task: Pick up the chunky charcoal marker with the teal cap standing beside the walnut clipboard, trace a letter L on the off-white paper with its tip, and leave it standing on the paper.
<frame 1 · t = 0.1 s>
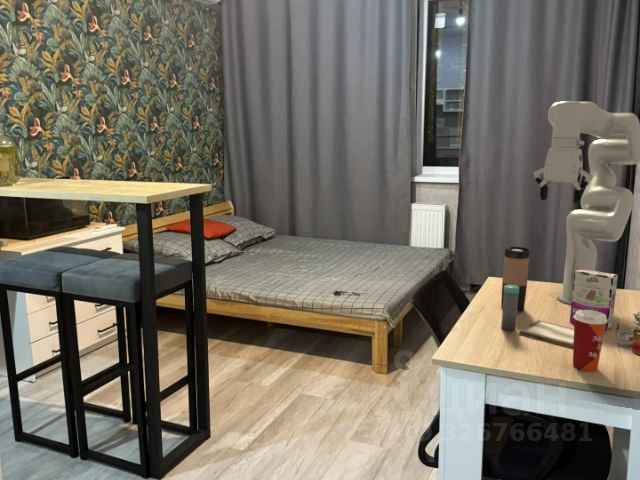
hand: (559, 201, 175), 37 cm above the table, tool pointing down, fingers open, 9 cm apart
candy bar box: (590, 325, 176), on the table
travel mug: (512, 308, 191), on the table
clipboard: (555, 335, 167), on the table
paper cup: (584, 367, 145), on the table
marker: (508, 329, 171), on the table
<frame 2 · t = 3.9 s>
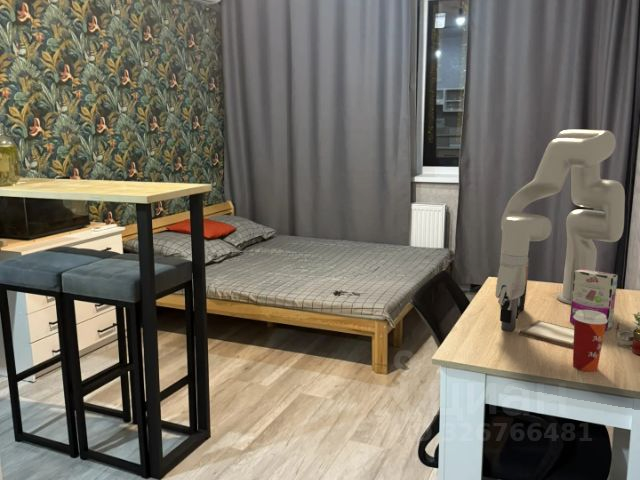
hand: (509, 319, 170), 3 cm above the table, tool pointing down, fingers closed on marker, 3 cm apart
marker: (508, 329, 171), on the table, touching gripper
everything else where it was.
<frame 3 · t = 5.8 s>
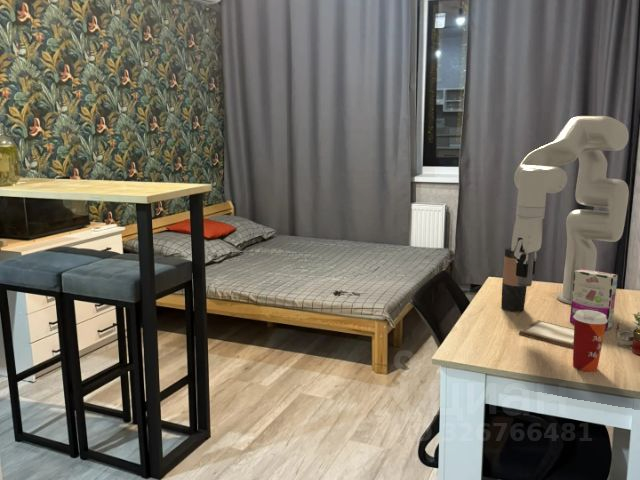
hand: (525, 274, 167), 17 cm above the table, tool pointing down, fingers closed on marker, 3 cm apart
marker: (524, 284, 167), point 14 cm above the table, touching gripper
everything else where it was.
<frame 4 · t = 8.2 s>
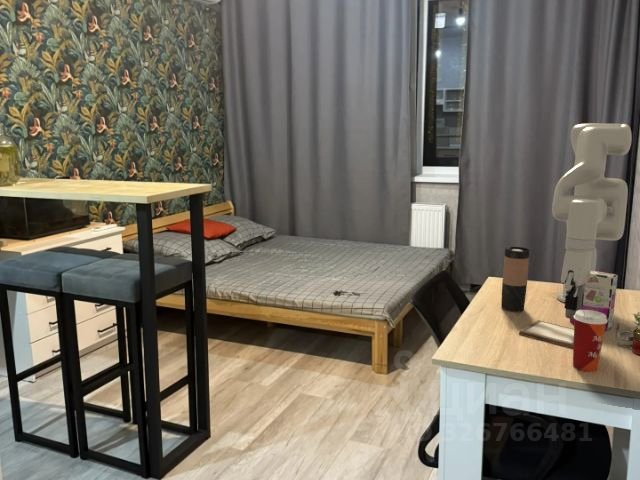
hand: (573, 307, 164), 9 cm above the table, tool pointing down, fingers closed on marker, 3 cm apart
marker: (572, 317, 164), point 6 cm above the table, touching gripper
everything else where it was.
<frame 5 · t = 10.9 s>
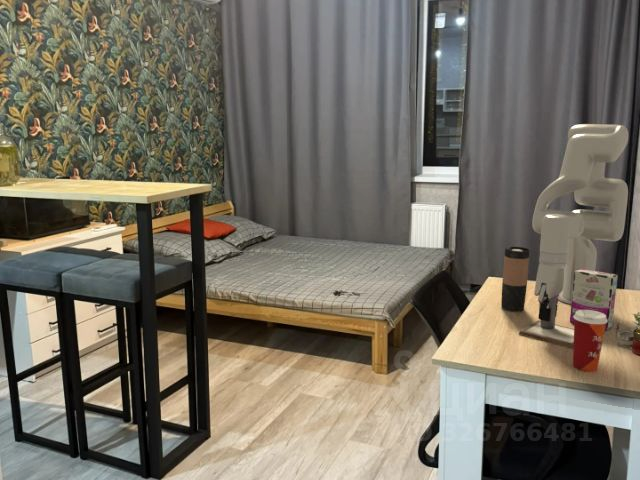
hand: (547, 317, 170), 4 cm above the table, tool pointing down, fingers closed on marker, 3 cm apart
marker: (547, 326, 170), point 1 cm above the table, touching gripper
everything else where it was.
when the fingers open (4 cm above the table, at t = 12.6 s): marker stays where it is, resting on clipboard.
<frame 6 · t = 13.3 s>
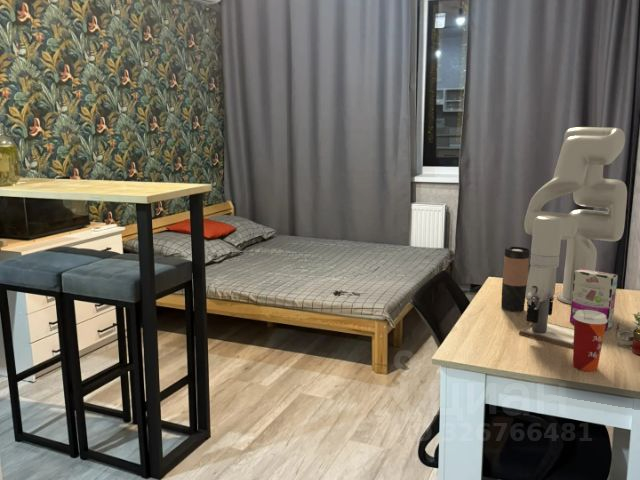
hand: (539, 317, 166), 5 cm above the table, tool pointing down, fingers open, 9 cm apart
marker: (539, 331, 167), point 1 cm above the table, touching clipboard
everything else where it was.
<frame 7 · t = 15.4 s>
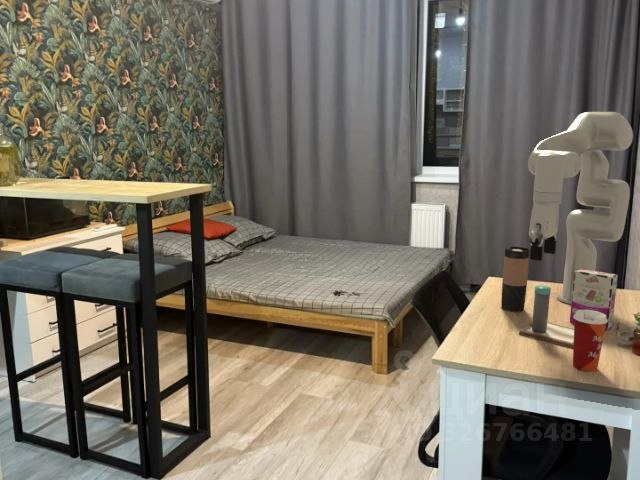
hand: (542, 256, 167), 22 cm above the table, tool pointing down, fingers open, 9 cm apart
nothing on the table moved.
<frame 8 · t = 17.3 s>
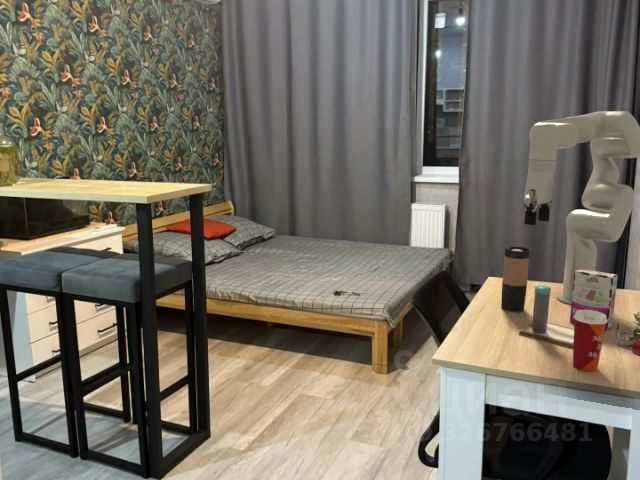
hand: (536, 222, 175), 30 cm above the table, tool pointing down, fingers open, 9 cm apart
nothing on the table moved.
at the end: marker inside the target area on the clipboard (4.8 cm from its centre), point 1.1 cm above the clipboard's base; marker tilted 1°; the gripper is holding nothing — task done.
